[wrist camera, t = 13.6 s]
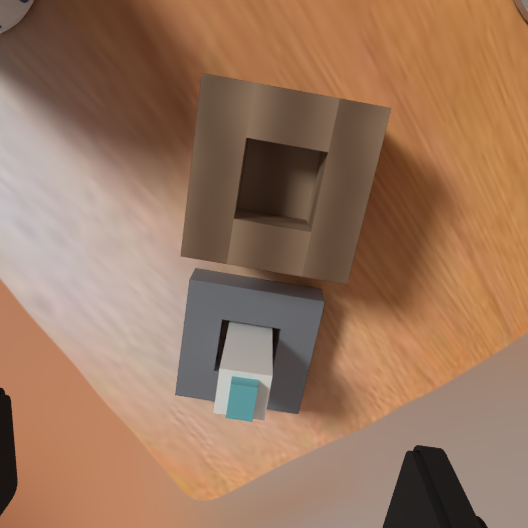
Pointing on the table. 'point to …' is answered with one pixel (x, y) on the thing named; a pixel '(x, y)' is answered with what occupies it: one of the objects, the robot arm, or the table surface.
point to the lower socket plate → (251, 312)
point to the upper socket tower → (280, 178)
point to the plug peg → (245, 372)
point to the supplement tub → (12, 12)
